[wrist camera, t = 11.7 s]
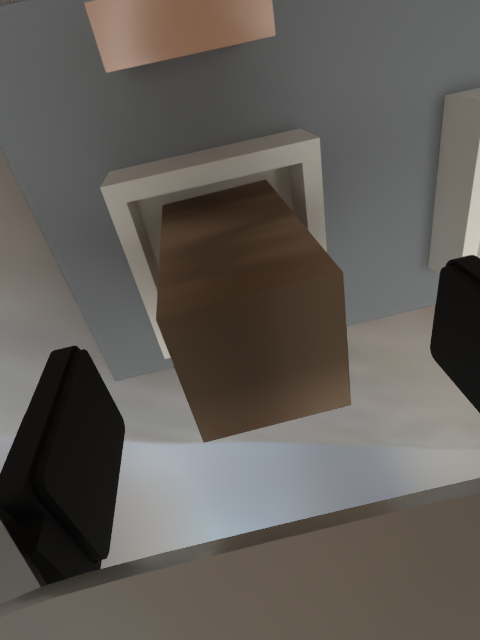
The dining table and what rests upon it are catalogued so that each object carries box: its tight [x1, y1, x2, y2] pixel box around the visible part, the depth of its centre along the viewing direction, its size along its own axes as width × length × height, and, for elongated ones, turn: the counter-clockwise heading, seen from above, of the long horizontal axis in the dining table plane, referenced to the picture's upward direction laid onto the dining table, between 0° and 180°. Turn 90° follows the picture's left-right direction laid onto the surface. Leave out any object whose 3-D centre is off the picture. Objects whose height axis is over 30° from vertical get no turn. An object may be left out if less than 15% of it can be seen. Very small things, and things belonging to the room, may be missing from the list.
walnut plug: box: [156, 180, 351, 442], centre depth 14 cm, size 4×4×9 cm
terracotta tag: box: [84, 0, 276, 73], centre depth 12 cm, size 4×1×5 cm, turn 101°
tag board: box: [0, 0, 480, 381], centre depth 17 cm, size 29×16×4 cm, turn 101°
